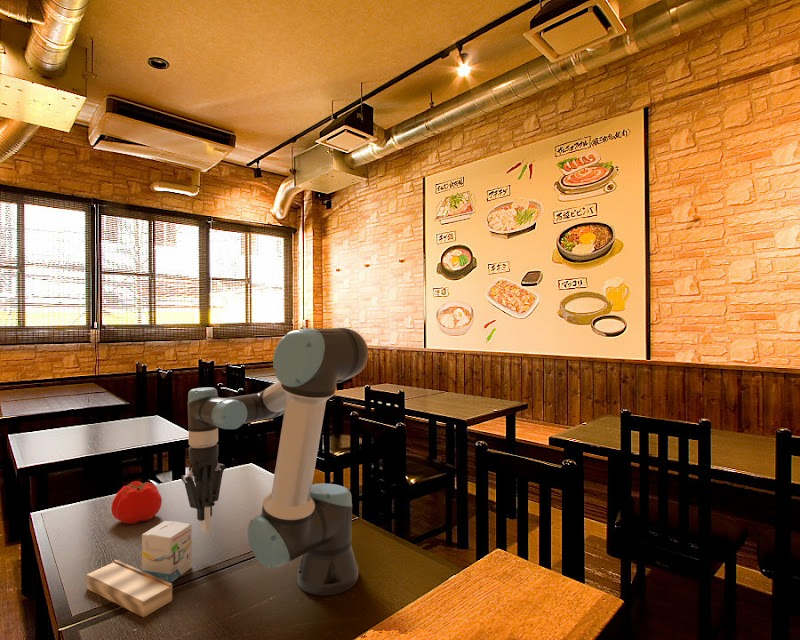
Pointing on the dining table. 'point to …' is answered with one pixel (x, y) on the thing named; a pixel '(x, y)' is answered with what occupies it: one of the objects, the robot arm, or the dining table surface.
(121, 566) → the plank
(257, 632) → the dining table surface
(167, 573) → the ink box
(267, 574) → the dining table surface
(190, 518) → the dining table surface
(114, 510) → the tomato
